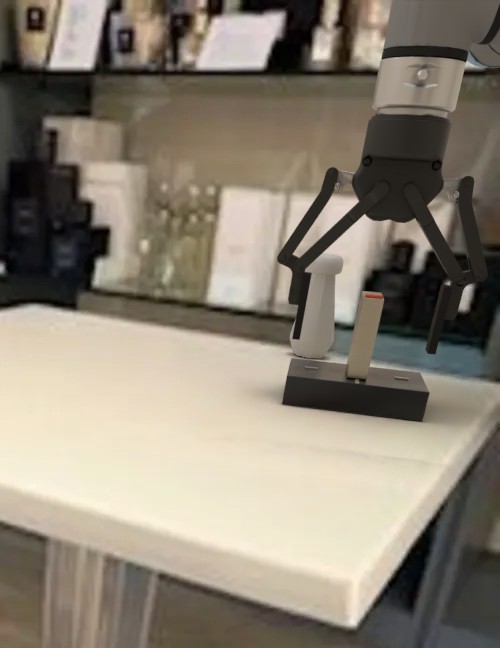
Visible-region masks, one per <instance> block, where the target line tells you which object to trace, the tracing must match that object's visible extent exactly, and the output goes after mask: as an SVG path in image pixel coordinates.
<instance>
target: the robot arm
mask: <svg viewBox="0 0 500 648" xmlns="http://www.w3.org/2000/svg"><path fill="white" fill-rule="evenodd" d="M388 15H389V16H388V21H387V26H386V31H385V37H384V43H383V48H382V54H381V59H380V62H379V66H378V70H377V77H376V82H375V86H374V93H373V97H372V102H371V108H372V109H373V110H374V111H376V112H375V114H374V115H372V116H371V118H369V119H368V122H367V128H366V132H365V137H364V142H363V143H364V144H363V147H362V153H361V158H360V162H359V165H358V168H357V169H356V170H355V172H352V171H351V172H350V171H346V170H341V169H338V168H336V167H334V166H332V167H329V168H328V169H326V171H325V175H324V178H323V181H322V185H321V189H320V191H319V193H318V194H317V195H316V197H315V198H314V199H313V202H312V203H311V205H310V206H309V208H308V209H307V211H306V212H305V214H304V216H303V217H302V219H301V220H300V221H299V223H298V224H297V226H296V228H295V229H294V230H293V232H292V233H291V234H290V236H289V238H288V239H287V240H286V242H285V244H284V245H283V247H282V248H281V250H280V252H279V253H278V255H277V256H276V261H277V263H278V264H279V265H282V266H284V267H287V268H288V269H289V270H290V271H291V280H290V285H289V291H288V297H287V301H288V305H292V306H297V310H296V316H295V319H296V321H295V320H294V322H295V326H294V332H293V337H292V339H296V340H300V335H301V330H302V324H303V319H304V313H305V308H306V302H307V297H308V291H309V286H310V280H311V275H312V272H311V271H306V269H307V268H308V267H309V265H310V264H311V263H312V262H314V261H315V260H316V259H317V258H318V257H319V256H320V255H321V254H322V253H325V252H326V251H327V250H328V249H329V248H330V247H331V246H332V245H333V244H334V243H336V241H337V240H338V239H339V238H341V237H342V236H343V235H344V234H345V233H346V232H347V231H348V230H350V228H352V226H353V225H355V224H356V223H357V222H358V221H359V220H361V218H363V216H364V215H365V217H366V218H368V219H369V220H371V221H374V222H384V221H392V222H395V223H398V224H399V223H400V224H401V223H402V224H406V223H409V222H412V221H414V220H415V221H416V222H417V224H418V226H419V228H420V230H421V231H422V233H423V235H424V237H425V238H426V240H427V242H428V244H429V246H430V247H431V249H432V251H433V252H434V254H435V256H436V258H437V260H438V261H439V263H440V265H441V267H442V269H443V270H444V272H445V274H446V276H447V278H448V279H449V281H450V282H449V284H444V283H443V284H441V285H440V289H439V292H438V297H437V301H436V304H435V309H434V313H433V317H432V320H431V325H430V329H429V333H428V336H427V341H426V346H425V349H424V350H425V352H426V353H427V354H428V355H437V350H438V346H439V342H440V338H441V335H442V330H443V327H444V322H445V321H455V319H456V317H457V316H458V312H459V309H460V304H461V302H462V298H463V293H464V290H465V288H466V287H467V286H469V285H473V284H476V283H482V282H483V283H484V281H486V280H487V279H488V276H489V272H488V267H487V263H486V258H485V254H484V251H483V246H482V241H481V236H480V232H479V229H478V224H477V219H476V215H475V211H474V206H473V195H474V188H475V179H474V177H473V176H471V175H464V176H461V177H453V178H452V177H451V178H444V176H443V165H444V160H445V156H446V151H447V148H448V143H449V139H450V135H451V130H452V126H453V123H451V119H449V118H448V114H451V113H453V112H455V110H456V108H457V103H458V99H459V95H460V90H461V86H462V81H463V76H464V74H465V73H464V72H465V68H466V63H467V62H468V63H469V64H471V65H473V66H474V67H478V68H484V69H487V68H488V69H499V68H500V0H391V5H390V10H389V14H388ZM347 185H351V188H352V190H353V192H354V194H355V196H356V198H357V200H358V201H357V203H356V204H355V205H353V206H352V208H350V209H349V210H348V211H347V212H346V213H345V214H344V215H343V216H342V217H341V218H340V219H339V220H338V221H337V222H336V223H334V225H332V226H331V227H330V228H329V229H328V230H327V231H326V232H325V233H324V234H323V235H322V236H321V237H320V238H319V239H318V240H316V242H314V243H313V244H312V245H311V246H310V247H309V248H308V249H307V250H306V251H305V252H304V253H303V254H302V255H300V256H297V255H295V254H294V253H295V252H296V250H297V248H298V247H299V246H300V244H301V243H302V241H303V240H304V238H305V237H306V236H307V234H308V232H309V231H310V229H311V228H312V226H313V225H314V223H315V222H316V221H317V219H318V217H319V216H320V215H321V213H322V212H323V210H324V209H325V207H326V205H327V204H328V203H329V201H330V199H331V197H332V196H333V194H339V193H341V192H342V191H343V189H344V188H345V186H347ZM442 191H444V192H446V195H447V199H448V200H449V201H450V202H454V203H455V204H454V205H455V206H454V207H455V212H456V216H457V221H458V224H459V225H458V226H459V229H460V232H461V233H460V234H461V239H462V242H463V243H462V244H463V246H464V250H465V255H466V260H467V263H468V268H469V269H468V270H463V269H462V267H461V266H460V263H459V262H458V260H457V258H456V257H455V254H454V253H453V250H452V249H451V247H450V245H449V244H448V241H447V240H446V238H445V237H444V234H443V233H442V231H441V230H440V227H439V225H438V224H437V222H436V220H435V218H434V216H433V214H432V212H431V210H430V208H429V207H428V206H429V204H431V203H432V202H433V201H434V200H435V198H437V196H438V195H440V194H441V192H442Z"/></svg>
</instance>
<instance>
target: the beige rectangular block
mask: <svg viewBox="0 0 500 648" xmlns="http://www.w3.org/2000/svg"><path fill="white" fill-rule="evenodd" d="M384 303H385V298H384V295H383V293H382V292H378V291H377V292H376V291H366V290H362V291H361V292H360V298H359V303H358V308H357V312H356V317H355V322H354V326H353V331H352V337H351V342H350V346H349V351H348V355H347V360H346V364H347V365H346V372H347V378H353V379H361V380H367V376H368V372H369V367H371V362H372V358H373V357H372V356H373V353H374V349H375V344H376V339H377V335H378V330H379V326H380V322H381V317H382V312H383V308H384Z"/></svg>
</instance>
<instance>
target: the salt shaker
mask: <svg viewBox="0 0 500 648" xmlns="http://www.w3.org/2000/svg"><path fill="white" fill-rule="evenodd" d="M307 268H308V272H311V273H312V275H311V280H310V286H309V291H308V297H307V302H306V308H305V313H304V319H303V324H302V330H301V335H300V340H296V339H292V337H293V332H294V326H295V321H296V318H295V320H294V322H293V325H292V328H291V330H290V333H289V341H290V346H291V349H292V350H291V351H292V354H293V353H294V354H296V355H298V356H302V357H301V358H304V357H305V358H306V359H311V358H314V359H319V360H321V359H324V357H325V355H326V354H327V353H328V351H329V350H330V349H331V347H332V346H333V344H334V343H335V318H336V317H335V314H336V313H335V309H336V307H335V306H336V305H335V304H336V276H337V275H340V274H341V273H342V272H343V268H344V259H343V257H342V256H341V255H339V254H335V253H325V252H323V253H322V254H321V255H320V256H319V257H318V258H317V259H316V260H315V261H314V262H312V263H311V264H310V265H309V266H308V267H307ZM294 354H293V355H294ZM296 355H295V356H296ZM298 356H297V357H298ZM305 358H304V359H305Z"/></svg>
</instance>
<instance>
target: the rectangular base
mask: <svg viewBox="0 0 500 648" xmlns="http://www.w3.org/2000/svg"><path fill="white" fill-rule="evenodd" d="M346 365H347V363H340V362H332V361H321V360H313V359H305V358H304V359H303V358H295V357H291V358H290V361H289V365H288V369H287V374H286V378H285V383H284V388H283V395H282V400H281V404H282V405H284V406H285V405H286V406H293V407H301V408H309V409H317V410H324V411H325V410H326V411H333V412H341V413H350V414H357V415H365V416H374V417H380V418H381V417H382V418H388V419H389V418H390V419H396V420H398V419H399V420H406V421H412V422H423V420H424V417H425V413H426V410H427V409H426V408H427V405H428V402H429V397H430V393H431V392H430V390H429V388H428V386H427V384H426V382H425V380H424V378H423V375H422V374H421V372H418V371H410V370H401V369H394V368H393V369H392V368H384V367H374V366H370V367H369V372H368V376H367V380H361V379H353V378H347V372H346Z"/></svg>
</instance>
